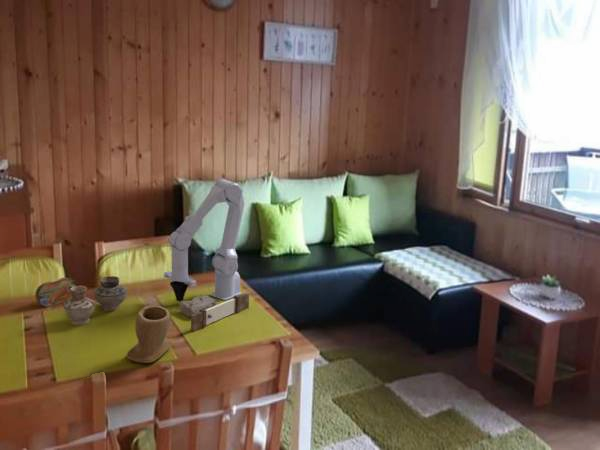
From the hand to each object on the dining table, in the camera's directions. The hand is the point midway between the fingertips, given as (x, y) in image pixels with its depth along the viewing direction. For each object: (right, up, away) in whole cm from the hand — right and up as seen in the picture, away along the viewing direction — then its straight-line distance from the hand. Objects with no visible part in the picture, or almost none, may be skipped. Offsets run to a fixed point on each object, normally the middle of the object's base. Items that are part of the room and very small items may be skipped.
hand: (180, 300), depth 216 cm
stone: (+8, -4, -5) cm, 10 cm away
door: (+16, -5, -11) cm, 20 cm away
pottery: (-26, -4, -11) cm, 29 cm away
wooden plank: (+16, -5, -11) cm, 20 cm away
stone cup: (0, -12, -38) cm, 39 cm away
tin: (-43, -1, -3) cm, 43 cm away
